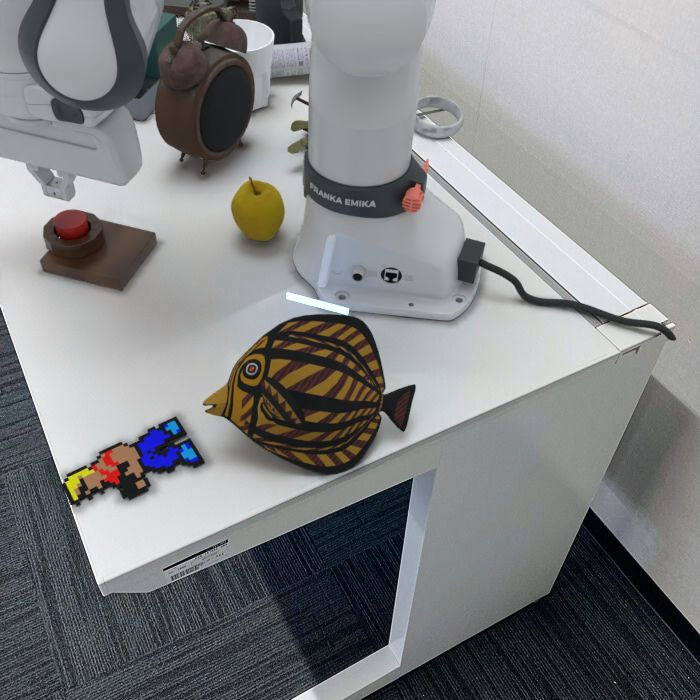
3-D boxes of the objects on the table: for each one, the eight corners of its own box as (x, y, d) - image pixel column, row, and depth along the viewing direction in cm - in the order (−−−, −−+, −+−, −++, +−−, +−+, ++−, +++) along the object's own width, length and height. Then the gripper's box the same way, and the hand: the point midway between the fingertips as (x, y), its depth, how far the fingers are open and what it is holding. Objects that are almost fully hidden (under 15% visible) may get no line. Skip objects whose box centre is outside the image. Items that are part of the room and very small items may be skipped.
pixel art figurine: (176, 418, 75) (56, 474, 70) (176, 416, 75) (55, 472, 70) (204, 462, 72) (80, 524, 67) (204, 460, 72) (79, 522, 67)
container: (322, 34, 120) (226, 43, 119) (326, 49, 117) (227, 59, 116) (324, 62, 123) (230, 71, 122) (327, 78, 120) (231, 87, 119)
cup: (278, 84, 120) (277, 21, 112) (272, 118, 113) (270, 53, 106) (213, 80, 120) (208, 17, 112) (204, 114, 113) (197, 49, 106)
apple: (240, 216, 97) (236, 162, 91) (290, 223, 97) (289, 169, 91) (227, 249, 93) (222, 194, 87) (279, 256, 93) (278, 202, 87)
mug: (244, 42, 128) (240, -27, 120) (295, 34, 131) (295, -34, 123) (270, 76, 121) (268, 4, 113) (323, 67, 124) (325, -4, 116)
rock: (216, -15, 132) (167, -3, 126) (250, 2, 127) (200, 16, 122) (217, 18, 135) (170, 31, 130) (250, 35, 131) (203, 50, 126)
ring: (403, 117, 111) (401, 129, 112) (456, 134, 110) (453, 145, 111) (419, 88, 116) (417, 99, 117) (471, 104, 114) (468, 115, 116)
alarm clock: (203, 191, 101) (187, 43, 86) (159, 173, 103) (136, 25, 88) (266, 140, 109) (261, -2, 95) (224, 124, 112) (213, -17, 97)
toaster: (183, 78, 120) (175, 13, 113) (143, 121, 111) (132, 54, 104) (113, 64, 122) (101, -1, 115) (68, 105, 113) (52, 38, 106)
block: (157, 243, 93) (153, 220, 91) (121, 291, 87) (116, 268, 85) (73, 223, 95) (67, 200, 92) (33, 269, 89) (25, 245, 86)
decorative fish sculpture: (322, 523, 68) (246, 492, 76) (425, 404, 76) (346, 388, 84) (248, 406, 61) (173, 386, 70) (369, 288, 69) (289, 283, 77)
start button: (95, 225, 90) (92, 213, 89) (79, 243, 88) (75, 231, 86) (67, 218, 91) (64, 206, 89) (50, 236, 88) (47, 224, 87)
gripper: (-84, 73, 75) (-40, 191, 85) (107, 116, 72) (129, 233, 82) (-44, 45, 79) (-6, 160, 89) (139, 85, 76) (156, 199, 86)
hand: (60, 195), depth 85 cm, fingers closed
